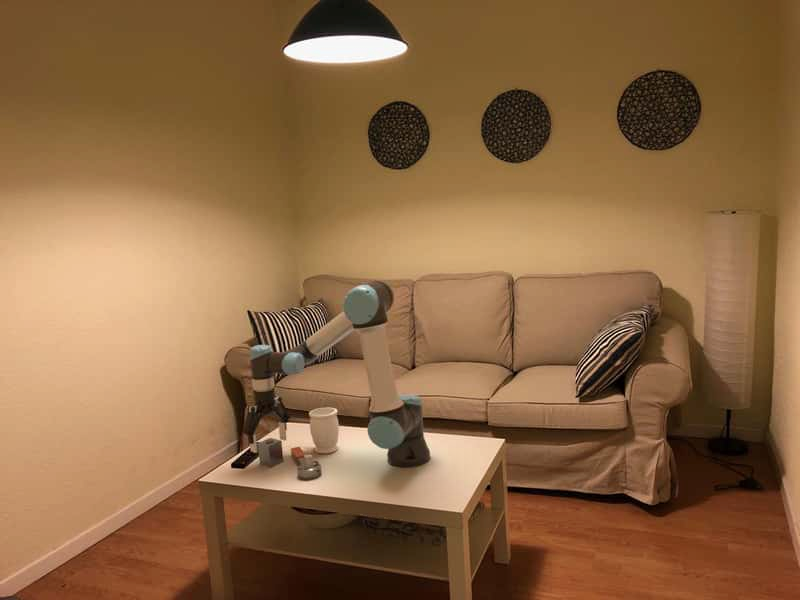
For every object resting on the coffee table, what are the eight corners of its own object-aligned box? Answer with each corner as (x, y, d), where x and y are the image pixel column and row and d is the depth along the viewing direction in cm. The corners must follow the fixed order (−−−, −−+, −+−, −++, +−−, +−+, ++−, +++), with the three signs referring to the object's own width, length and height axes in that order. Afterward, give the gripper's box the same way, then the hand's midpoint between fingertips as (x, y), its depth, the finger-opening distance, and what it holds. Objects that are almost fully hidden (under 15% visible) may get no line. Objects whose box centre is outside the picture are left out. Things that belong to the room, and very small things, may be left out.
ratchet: (324, 477, 233) (322, 457, 232) (301, 482, 230) (299, 462, 229) (306, 452, 257) (304, 434, 256) (285, 456, 254) (283, 438, 253)
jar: (343, 444, 262) (339, 406, 260) (337, 454, 252) (334, 415, 250) (315, 445, 263) (312, 407, 261) (309, 455, 253) (305, 416, 251)
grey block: (283, 461, 249) (281, 439, 248) (270, 467, 245) (268, 445, 243) (272, 458, 253) (270, 437, 252) (259, 464, 249) (257, 442, 247)
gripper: (283, 378, 257) (287, 432, 260) (228, 396, 237) (234, 454, 241) (296, 381, 252) (301, 436, 255) (242, 399, 233) (248, 459, 236)
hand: (269, 445), depth 248 cm, fingers open, 13 cm apart
